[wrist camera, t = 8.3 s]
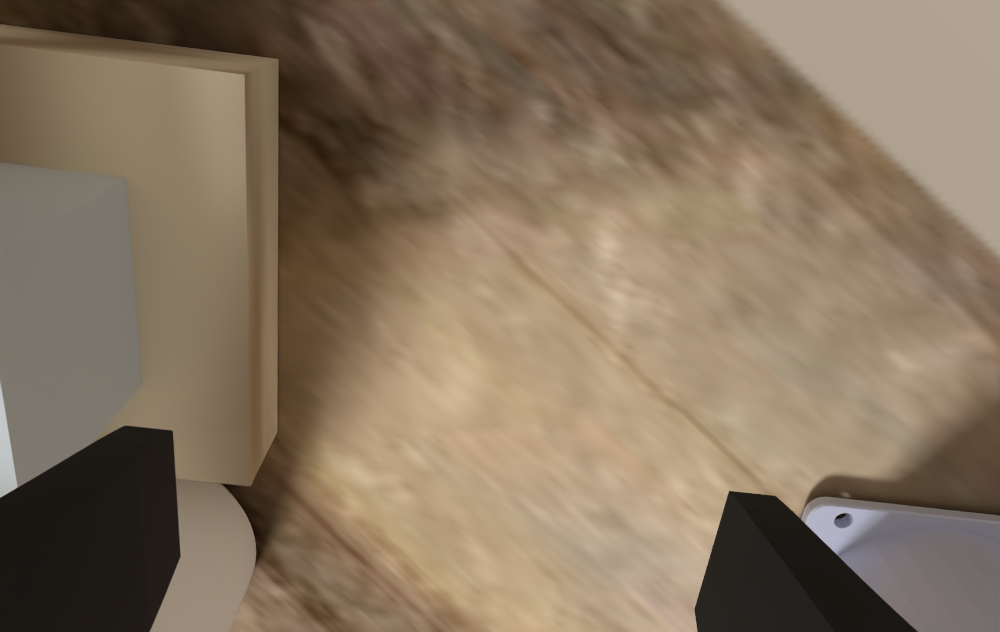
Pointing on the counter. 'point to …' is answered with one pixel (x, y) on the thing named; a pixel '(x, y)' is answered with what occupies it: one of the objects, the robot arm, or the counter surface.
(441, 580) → the counter surface
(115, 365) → the block
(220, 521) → the can
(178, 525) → the robot arm
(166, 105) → the base
